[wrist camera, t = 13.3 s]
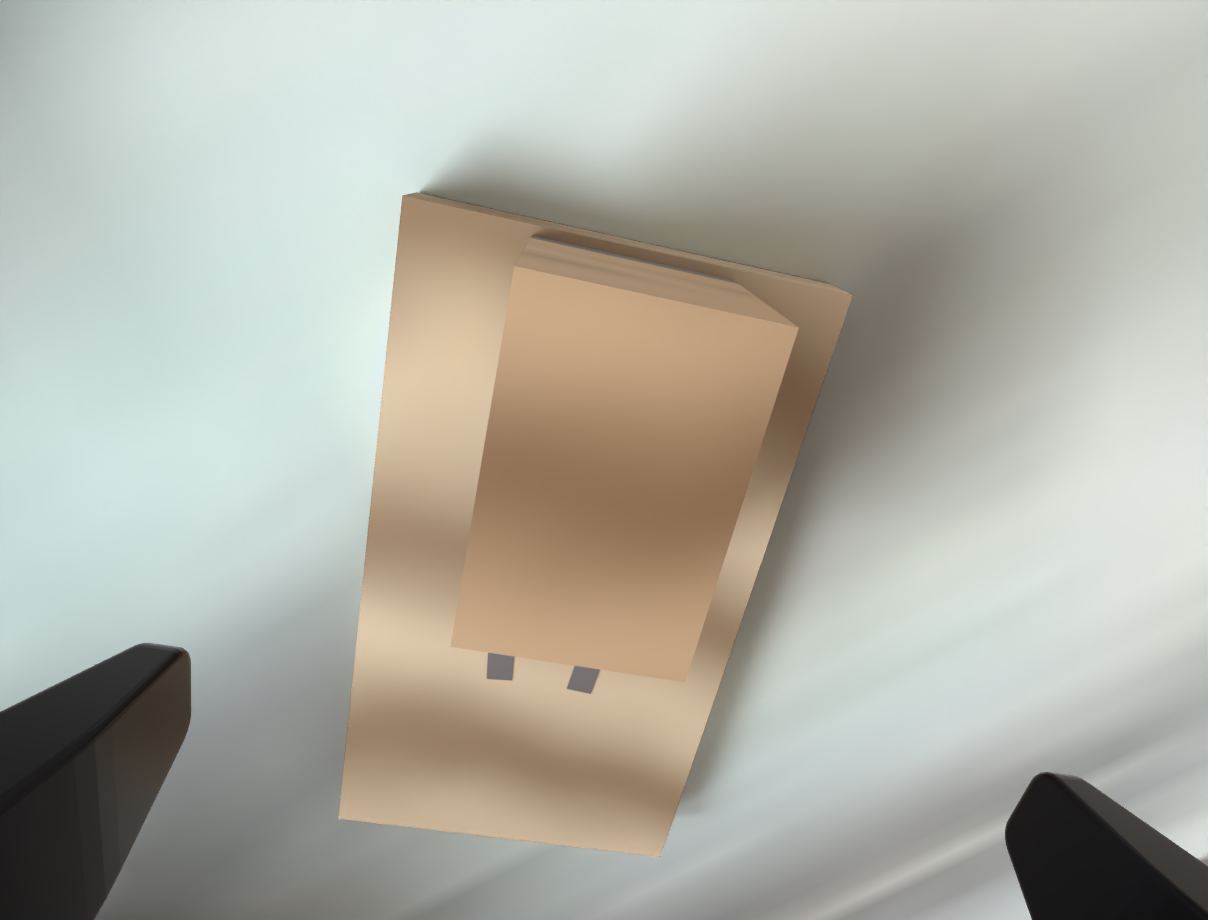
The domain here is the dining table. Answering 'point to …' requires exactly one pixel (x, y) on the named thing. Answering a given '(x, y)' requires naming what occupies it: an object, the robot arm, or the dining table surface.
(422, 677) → the board
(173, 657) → the robot arm
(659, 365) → the block
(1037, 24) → the dining table surface
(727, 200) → the dining table surface
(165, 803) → the dining table surface
